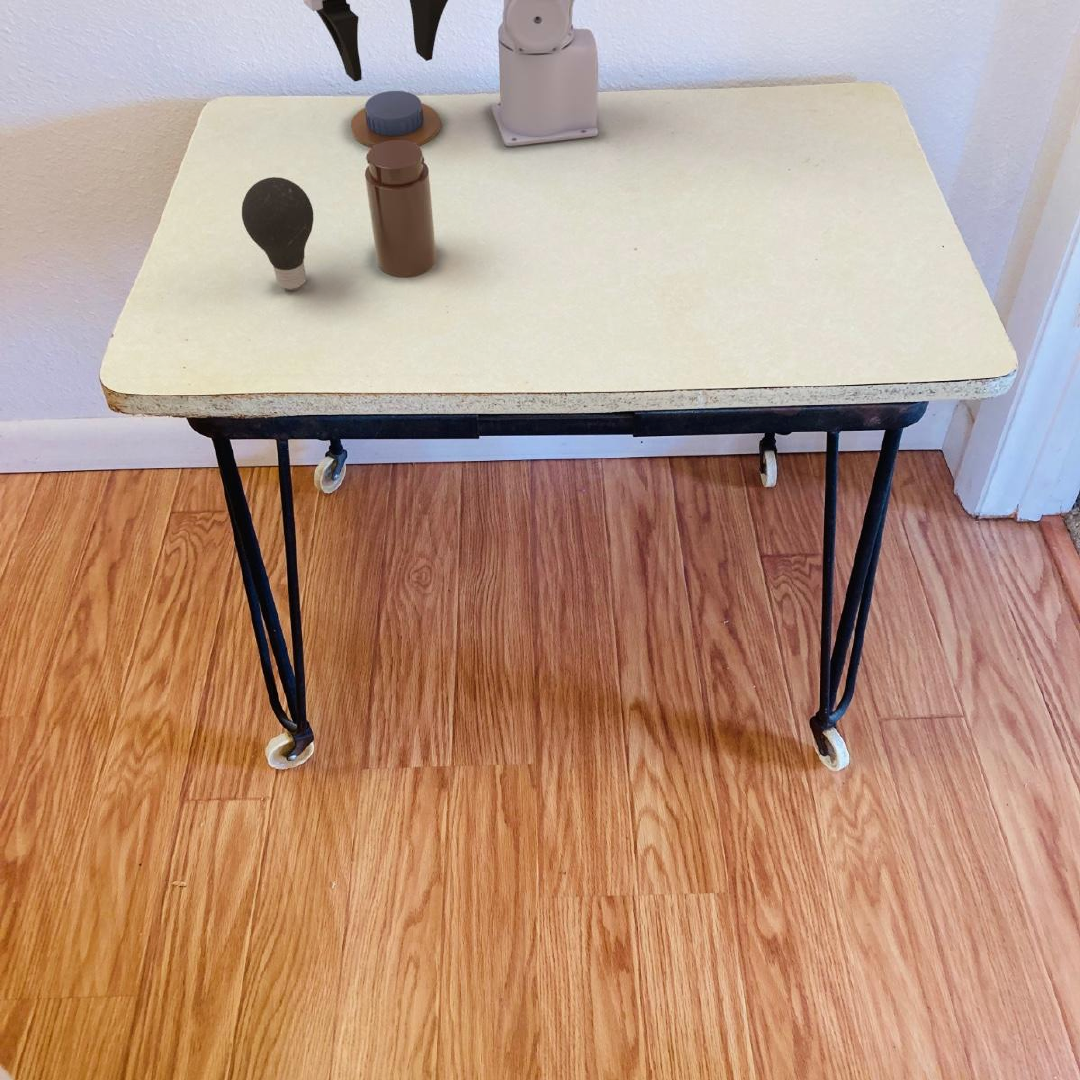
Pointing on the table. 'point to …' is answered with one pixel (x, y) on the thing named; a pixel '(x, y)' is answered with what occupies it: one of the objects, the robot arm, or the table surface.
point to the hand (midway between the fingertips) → (389, 66)
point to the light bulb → (280, 226)
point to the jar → (400, 208)
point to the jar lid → (394, 113)
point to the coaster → (417, 137)
